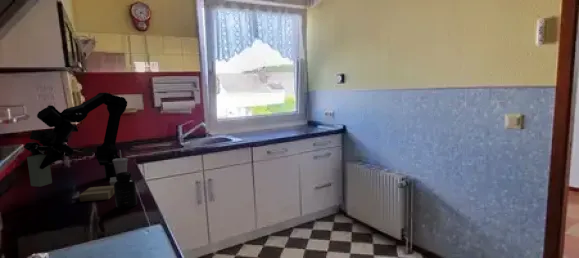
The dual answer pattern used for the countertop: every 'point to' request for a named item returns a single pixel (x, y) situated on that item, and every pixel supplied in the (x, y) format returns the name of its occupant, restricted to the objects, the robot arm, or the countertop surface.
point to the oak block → (97, 193)
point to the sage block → (38, 171)
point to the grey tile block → (112, 181)
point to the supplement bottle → (125, 191)
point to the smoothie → (120, 164)
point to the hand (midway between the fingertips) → (35, 168)
